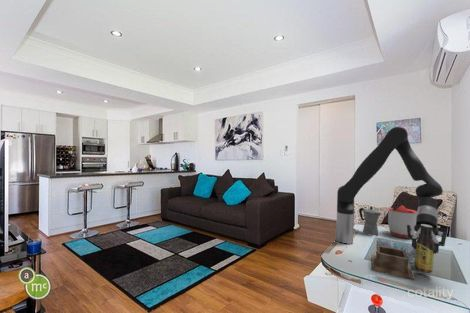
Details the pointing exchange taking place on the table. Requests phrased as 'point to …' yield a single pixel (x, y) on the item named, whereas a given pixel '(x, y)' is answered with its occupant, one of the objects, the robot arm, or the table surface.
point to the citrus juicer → (401, 221)
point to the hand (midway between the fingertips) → (424, 250)
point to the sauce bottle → (424, 250)
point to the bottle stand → (392, 262)
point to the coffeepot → (370, 220)
